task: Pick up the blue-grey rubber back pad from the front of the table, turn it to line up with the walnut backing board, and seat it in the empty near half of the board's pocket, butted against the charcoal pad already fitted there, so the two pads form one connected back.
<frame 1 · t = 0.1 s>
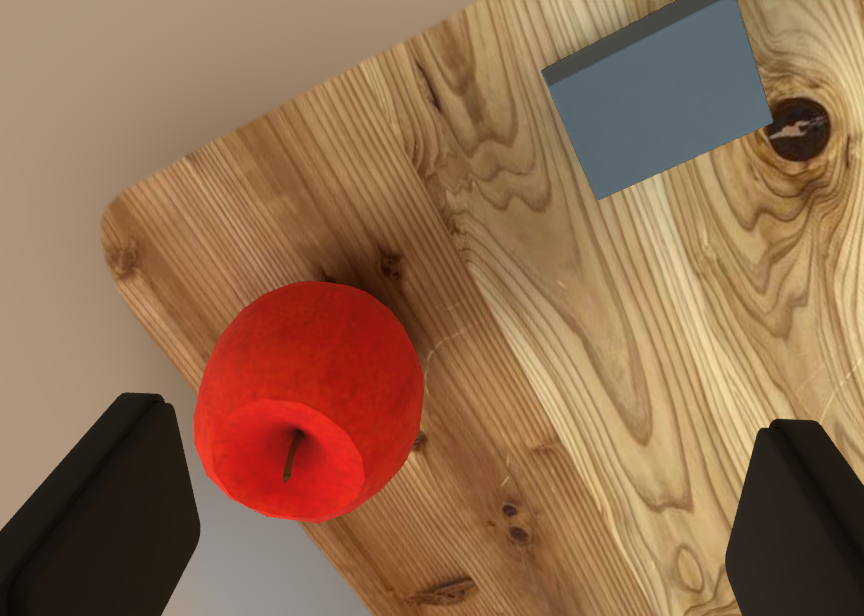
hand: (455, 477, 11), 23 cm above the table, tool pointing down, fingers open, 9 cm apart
pad b: (638, 85, 29), on the table
apple: (343, 325, 36), on the table
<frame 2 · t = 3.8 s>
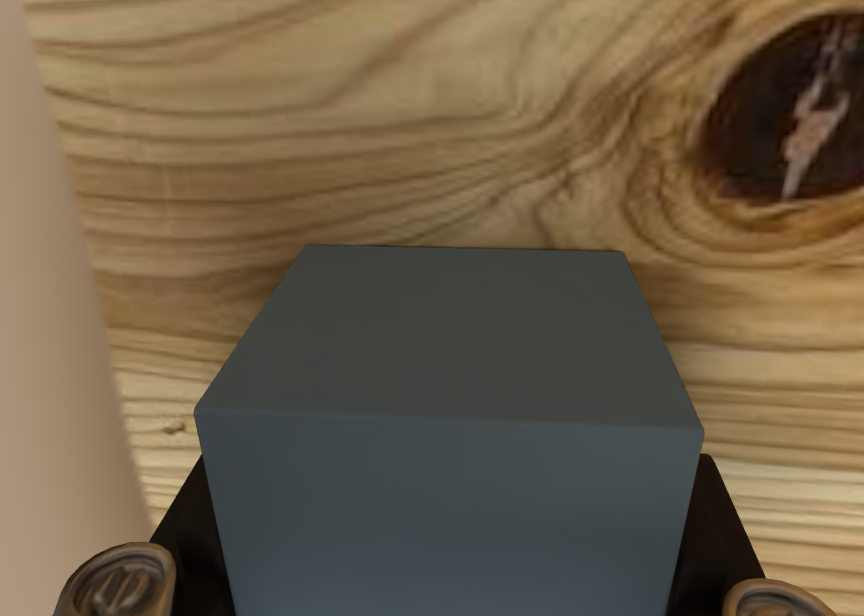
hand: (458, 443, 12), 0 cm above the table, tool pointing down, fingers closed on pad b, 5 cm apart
pad b: (459, 427, 12), on the table, touching gripper
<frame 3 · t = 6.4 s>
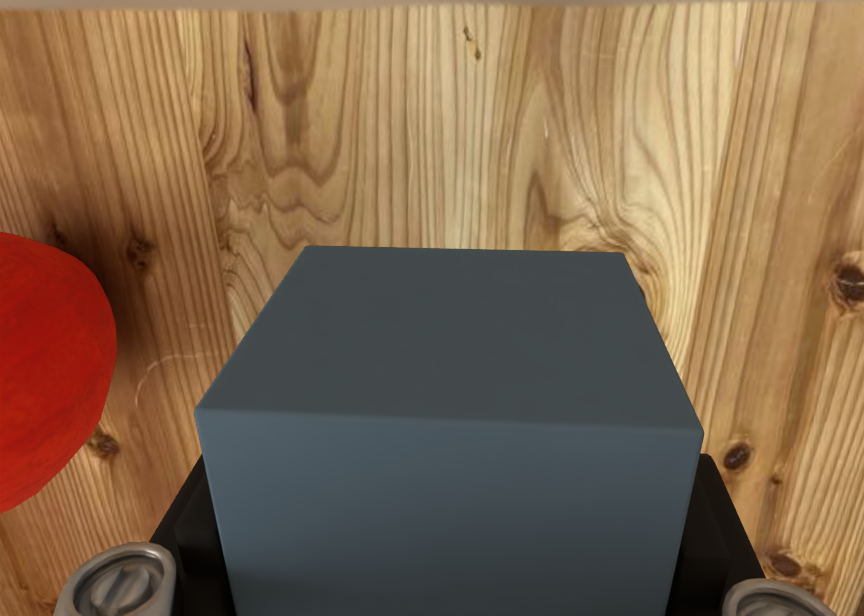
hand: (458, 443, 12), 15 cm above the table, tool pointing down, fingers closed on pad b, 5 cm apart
pad b: (459, 428, 12), point 15 cm above the table, touching gripper
apple: (60, 292, 29), on the table
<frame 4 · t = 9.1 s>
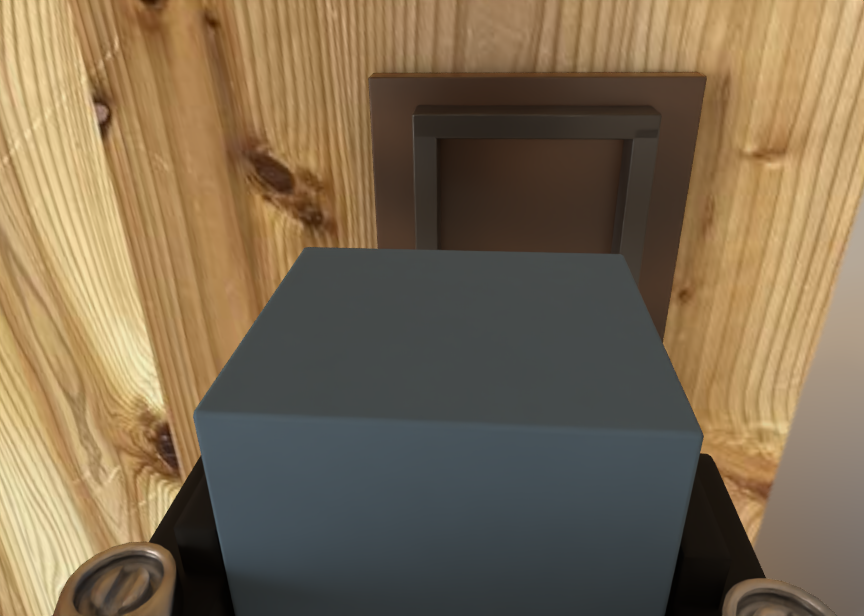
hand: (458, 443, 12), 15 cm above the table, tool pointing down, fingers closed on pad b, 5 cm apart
pad b: (459, 429, 12), point 14 cm above the table, touching gripper
backing board: (519, 318, 27), on the table
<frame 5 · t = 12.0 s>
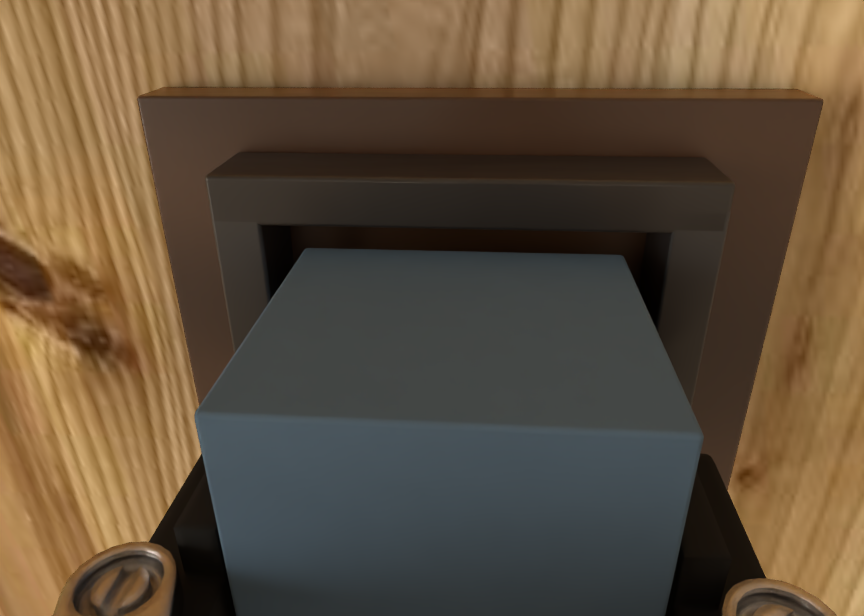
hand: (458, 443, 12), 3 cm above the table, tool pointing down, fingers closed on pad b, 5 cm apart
pad b: (459, 430, 12), point 2 cm above the table, touching gripper
backing board: (462, 504, 16), on the table
when the fingers open (3 cm above the table, at t = 14.6 s): pad b drops 1 cm, resting on backing board.
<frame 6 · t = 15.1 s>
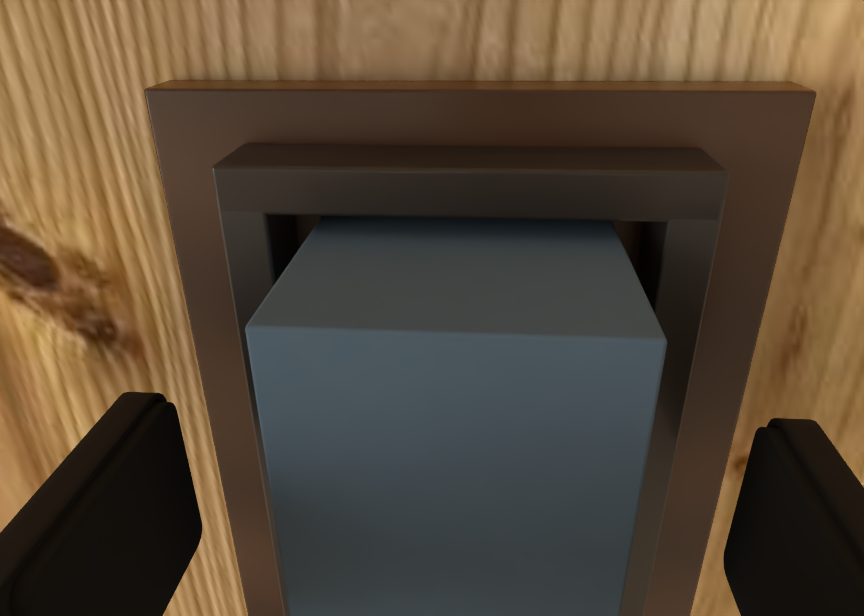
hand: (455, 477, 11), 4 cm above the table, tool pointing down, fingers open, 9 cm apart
pad b: (463, 376, 13), point 1 cm above the table, touching backing board
backing board: (463, 492, 16), on the table
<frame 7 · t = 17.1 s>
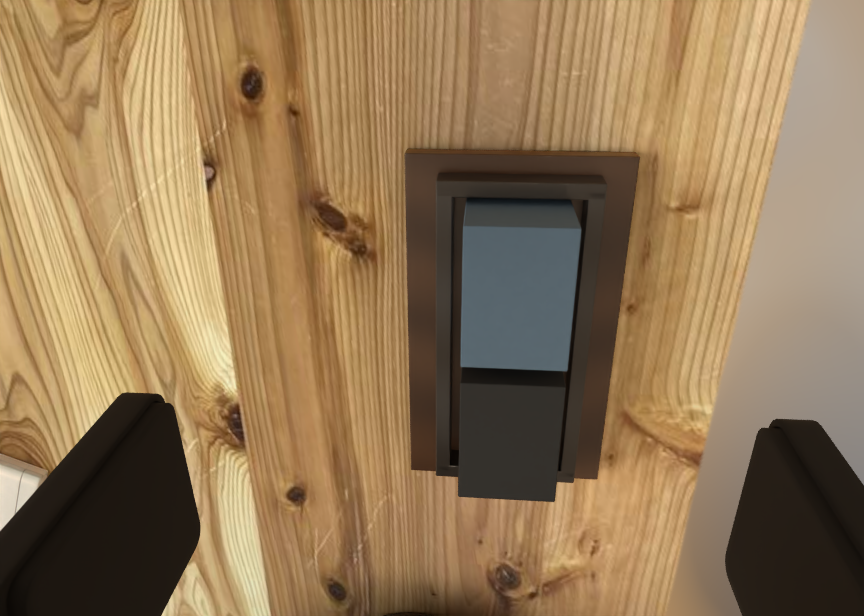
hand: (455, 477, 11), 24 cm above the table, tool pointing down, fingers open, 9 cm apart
pad b: (514, 264, 34), point 1 cm above the table, touching backing board
backing board: (510, 325, 36), on the table
pad a: (507, 395, 37), point 1 cm above the table, touching backing board
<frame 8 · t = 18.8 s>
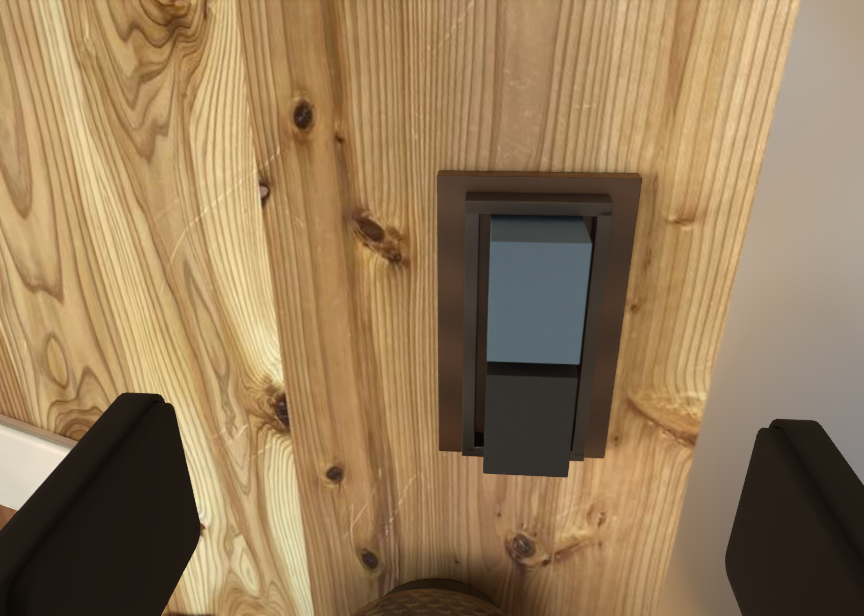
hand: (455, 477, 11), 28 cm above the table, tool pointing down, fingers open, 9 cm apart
pad b: (532, 270, 39), point 1 cm above the table, touching backing board
backing board: (527, 322, 41), on the table
pad a: (525, 384, 42), point 1 cm above the table, touching backing board
hard drive: (29, 457, 51), on the table
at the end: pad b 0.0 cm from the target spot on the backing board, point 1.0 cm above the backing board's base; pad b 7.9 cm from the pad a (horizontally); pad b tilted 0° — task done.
